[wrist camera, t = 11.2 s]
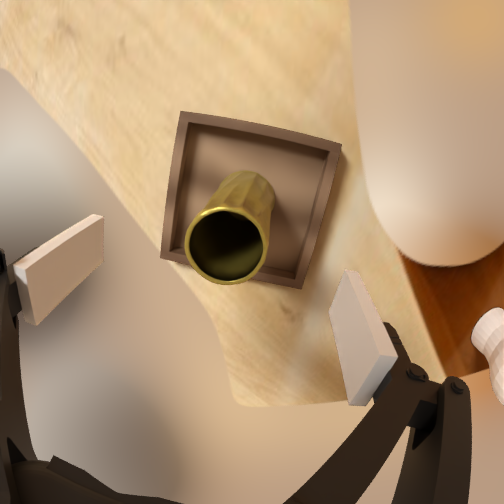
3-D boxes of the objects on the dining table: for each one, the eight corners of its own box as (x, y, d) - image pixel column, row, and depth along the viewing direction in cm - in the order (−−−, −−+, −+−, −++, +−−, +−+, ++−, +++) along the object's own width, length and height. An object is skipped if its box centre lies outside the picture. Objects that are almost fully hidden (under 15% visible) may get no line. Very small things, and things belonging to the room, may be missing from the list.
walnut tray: (187, 112, 29) (180, 110, 27) (337, 143, 29) (342, 144, 27) (167, 249, 35) (160, 258, 33) (299, 279, 36) (301, 289, 33)
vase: (281, 178, 31) (287, 214, 18) (266, 233, 33) (260, 302, 20) (224, 164, 31) (186, 188, 17) (211, 218, 33) (170, 278, 20)
